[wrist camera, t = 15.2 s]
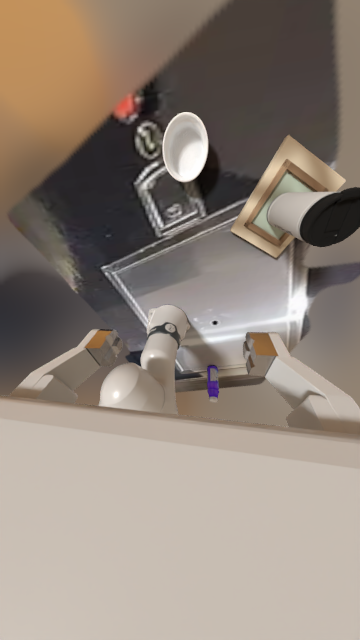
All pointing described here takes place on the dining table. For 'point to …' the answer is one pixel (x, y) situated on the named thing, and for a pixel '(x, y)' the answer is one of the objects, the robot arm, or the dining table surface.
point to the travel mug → (317, 215)
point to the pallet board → (281, 177)
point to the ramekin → (185, 147)
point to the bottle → (212, 383)
